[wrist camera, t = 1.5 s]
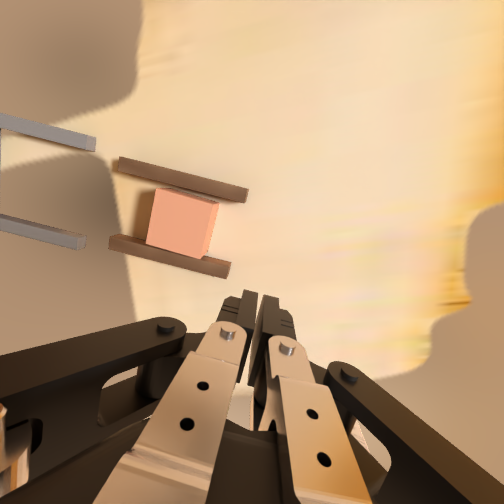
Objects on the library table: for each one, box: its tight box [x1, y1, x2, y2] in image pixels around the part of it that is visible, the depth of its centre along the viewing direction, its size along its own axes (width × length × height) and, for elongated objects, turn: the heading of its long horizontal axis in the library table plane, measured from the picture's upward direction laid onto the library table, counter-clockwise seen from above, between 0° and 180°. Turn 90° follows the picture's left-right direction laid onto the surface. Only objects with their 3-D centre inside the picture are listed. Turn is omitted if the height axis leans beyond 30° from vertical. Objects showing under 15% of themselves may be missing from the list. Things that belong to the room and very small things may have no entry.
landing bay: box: [0, 113, 96, 250], centre depth 31 cm, size 13×12×2 cm
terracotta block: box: [146, 188, 220, 259], centre depth 30 cm, size 6×6×4 cm
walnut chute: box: [108, 156, 249, 279], centre depth 30 cm, size 10×14×2 cm
